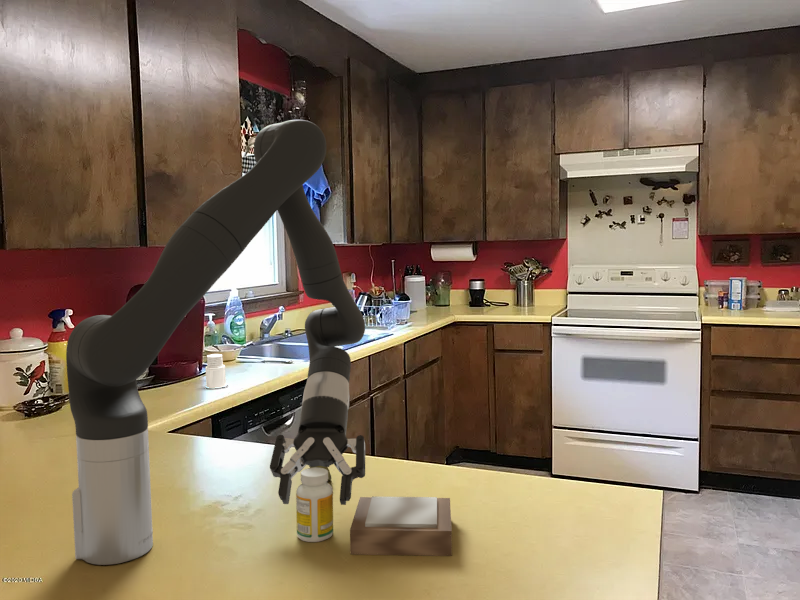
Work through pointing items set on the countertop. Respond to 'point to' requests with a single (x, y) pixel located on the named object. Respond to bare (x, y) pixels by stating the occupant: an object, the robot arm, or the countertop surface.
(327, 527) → the supplement bottle
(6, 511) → the countertop surface
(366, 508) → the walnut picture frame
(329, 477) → the lime
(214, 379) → the white pipe fitting
